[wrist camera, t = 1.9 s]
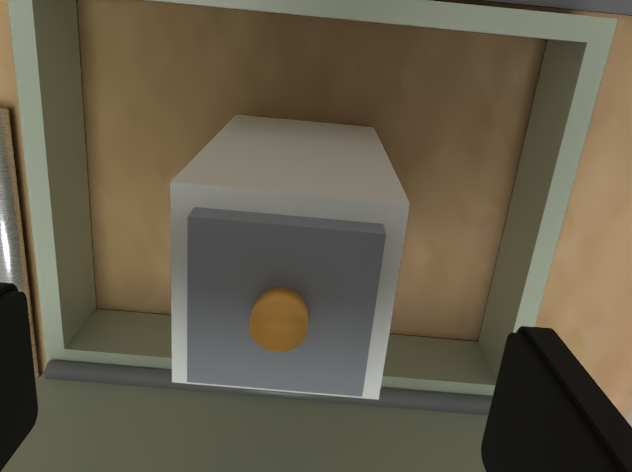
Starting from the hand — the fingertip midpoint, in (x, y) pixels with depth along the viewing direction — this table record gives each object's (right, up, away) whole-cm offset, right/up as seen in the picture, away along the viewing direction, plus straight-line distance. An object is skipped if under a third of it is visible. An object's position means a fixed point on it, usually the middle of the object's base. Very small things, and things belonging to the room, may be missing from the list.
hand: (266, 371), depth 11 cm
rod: (-11, +2, +11) cm, 16 cm away
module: (0, +5, +10) cm, 11 cm away
